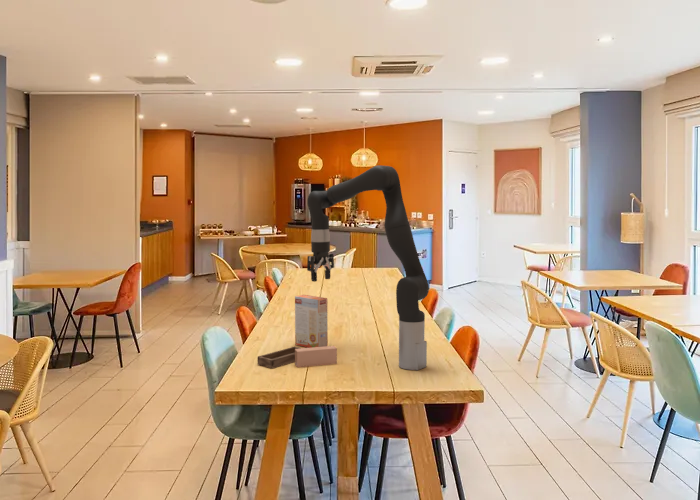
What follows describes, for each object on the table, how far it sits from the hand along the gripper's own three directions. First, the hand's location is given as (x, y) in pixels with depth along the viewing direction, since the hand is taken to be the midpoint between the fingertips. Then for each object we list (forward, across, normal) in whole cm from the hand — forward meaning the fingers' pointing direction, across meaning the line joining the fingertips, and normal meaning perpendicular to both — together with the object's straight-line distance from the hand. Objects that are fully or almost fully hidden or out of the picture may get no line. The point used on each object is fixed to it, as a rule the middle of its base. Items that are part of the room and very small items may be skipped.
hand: (321, 280), depth 236 cm
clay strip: (+28, -19, -13) cm, 37 cm away
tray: (+28, -24, -1) cm, 37 cm away
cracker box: (+28, -1, +5) cm, 29 cm away
